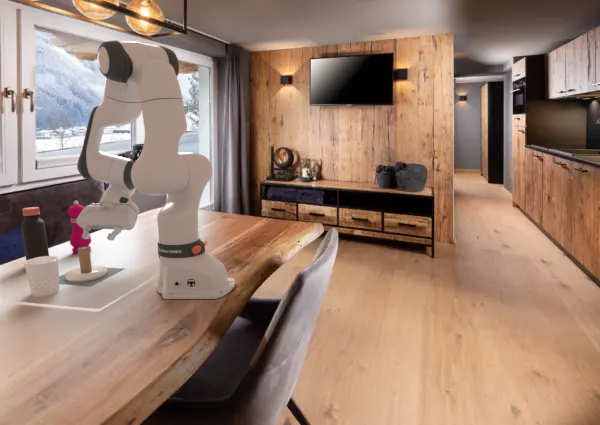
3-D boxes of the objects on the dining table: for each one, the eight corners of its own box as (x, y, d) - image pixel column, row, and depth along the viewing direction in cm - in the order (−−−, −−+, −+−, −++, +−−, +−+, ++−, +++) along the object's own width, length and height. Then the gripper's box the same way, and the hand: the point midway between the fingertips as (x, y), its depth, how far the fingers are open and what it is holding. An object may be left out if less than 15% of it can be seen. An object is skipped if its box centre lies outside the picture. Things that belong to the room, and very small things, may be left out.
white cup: (51, 299, 112) (46, 264, 110) (22, 299, 112) (17, 264, 110) (67, 288, 120) (63, 255, 118) (41, 288, 120) (36, 256, 118)
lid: (115, 270, 133) (113, 243, 132) (90, 283, 122) (86, 254, 120) (83, 268, 136) (80, 241, 134) (55, 280, 124) (51, 252, 122)
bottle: (36, 261, 146) (28, 206, 142) (54, 261, 145) (47, 206, 141) (22, 267, 139) (13, 209, 135) (40, 267, 138) (32, 210, 135)
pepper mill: (95, 251, 157) (89, 200, 153) (75, 256, 152) (68, 203, 148) (88, 248, 162) (82, 198, 158) (68, 252, 156) (61, 200, 152)
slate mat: (125, 270, 135) (125, 268, 135) (91, 288, 120) (91, 286, 119) (83, 267, 138) (83, 265, 138) (45, 284, 123) (44, 282, 123)
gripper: (82, 198, 140) (64, 232, 133) (135, 199, 136) (119, 235, 128) (93, 208, 145) (75, 242, 138) (144, 210, 141) (129, 245, 133)
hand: (97, 238), depth 133 cm, fingers open, 8 cm apart
